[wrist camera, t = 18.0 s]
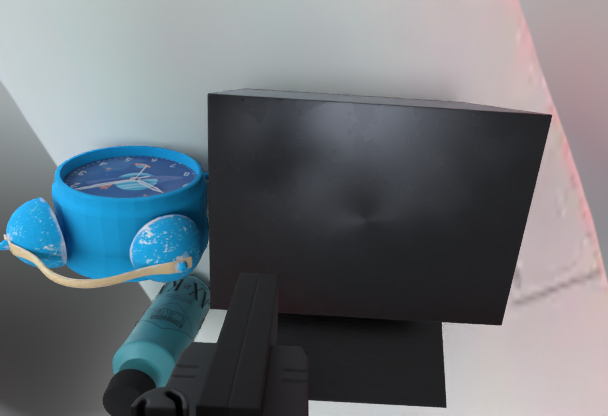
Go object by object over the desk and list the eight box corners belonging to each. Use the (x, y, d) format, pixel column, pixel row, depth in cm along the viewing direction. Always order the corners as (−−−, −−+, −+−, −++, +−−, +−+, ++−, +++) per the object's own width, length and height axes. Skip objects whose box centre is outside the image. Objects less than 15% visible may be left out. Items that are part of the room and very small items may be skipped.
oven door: (242, 242, 48) (226, 395, 43) (437, 254, 49) (446, 407, 43) (249, 257, 56) (236, 388, 51) (417, 267, 57) (422, 398, 51)
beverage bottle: (215, 312, 54) (165, 437, 35) (166, 309, 54) (89, 434, 35) (214, 268, 52) (161, 376, 33) (163, 265, 52) (80, 372, 33)
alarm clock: (234, 152, 48) (185, 201, 29) (228, 233, 51) (180, 325, 32) (92, 134, 47) (-55, 171, 28) (94, 216, 50) (-36, 300, 31)
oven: (246, 88, 45) (207, 93, 28) (457, 101, 46) (552, 114, 28) (244, 228, 51) (210, 309, 33) (434, 240, 51) (501, 325, 33)
